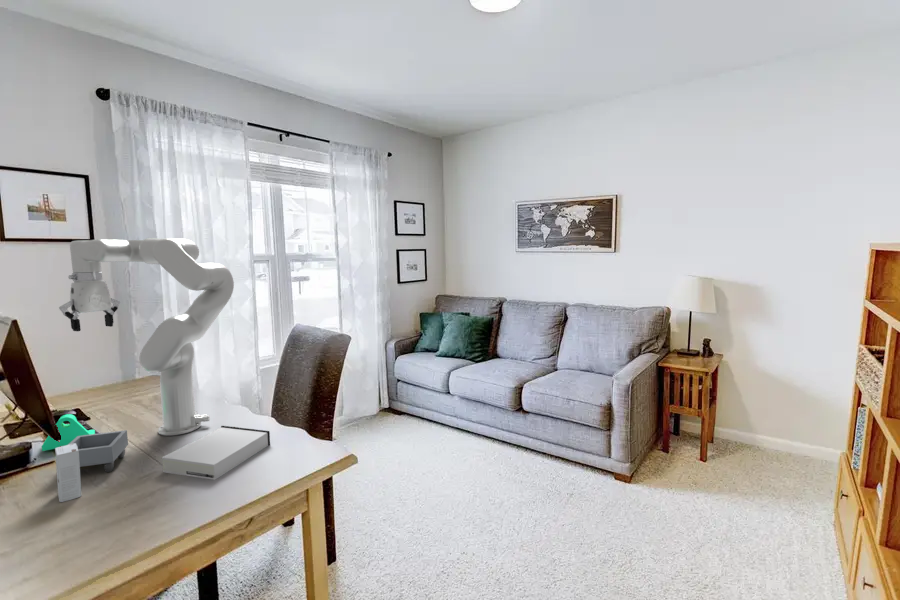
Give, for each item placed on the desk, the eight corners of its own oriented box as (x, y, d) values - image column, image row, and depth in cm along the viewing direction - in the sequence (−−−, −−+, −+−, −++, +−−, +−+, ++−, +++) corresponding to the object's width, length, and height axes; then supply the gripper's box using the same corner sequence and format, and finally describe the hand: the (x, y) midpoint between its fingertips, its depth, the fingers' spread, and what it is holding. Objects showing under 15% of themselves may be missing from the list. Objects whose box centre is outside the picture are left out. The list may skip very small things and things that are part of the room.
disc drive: (270, 446, 140) (269, 430, 140) (215, 481, 119) (214, 463, 118) (223, 440, 145) (222, 425, 144) (162, 473, 123) (161, 456, 123)
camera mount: (95, 436, 148) (93, 406, 147) (93, 445, 142) (89, 413, 141) (47, 445, 142) (44, 413, 141) (42, 454, 135) (38, 421, 134)
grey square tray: (129, 454, 134) (126, 430, 134) (114, 472, 123) (111, 446, 122) (80, 460, 130) (77, 435, 130) (60, 480, 119) (57, 453, 118)
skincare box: (57, 494, 112) (52, 447, 111) (80, 487, 116) (76, 442, 114) (59, 503, 108) (54, 455, 107) (83, 496, 111) (78, 449, 110)
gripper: (63, 279, 140) (69, 333, 142) (122, 276, 156) (127, 325, 157) (50, 279, 143) (56, 332, 145) (109, 276, 159) (114, 324, 161)
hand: (93, 328), depth 151 cm, fingers open, 9 cm apart
